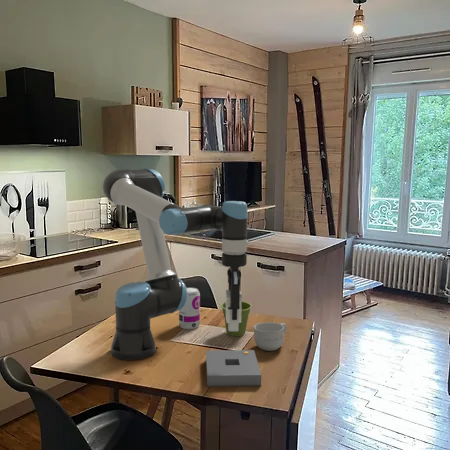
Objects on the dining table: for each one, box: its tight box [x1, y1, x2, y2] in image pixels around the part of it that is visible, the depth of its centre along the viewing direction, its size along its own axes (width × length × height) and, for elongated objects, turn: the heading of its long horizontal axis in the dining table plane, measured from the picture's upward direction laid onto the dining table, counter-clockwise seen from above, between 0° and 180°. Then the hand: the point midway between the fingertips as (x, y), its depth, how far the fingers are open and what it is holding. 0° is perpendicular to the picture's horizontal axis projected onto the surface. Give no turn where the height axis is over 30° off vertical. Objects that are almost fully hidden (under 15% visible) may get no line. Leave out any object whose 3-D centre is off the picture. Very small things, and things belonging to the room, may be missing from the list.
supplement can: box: [178, 287, 201, 330], centre depth 185 cm, size 8×8×15 cm
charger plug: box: [225, 289, 243, 331], centre depth 143 cm, size 4×4×12 cm
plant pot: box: [220, 300, 253, 337], centre depth 178 cm, size 12×12×11 cm
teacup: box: [253, 321, 288, 352], centre depth 166 cm, size 14×11×8 cm
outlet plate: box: [205, 349, 262, 388], centre depth 146 cm, size 16×18×4 cm
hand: (233, 326), depth 144 cm, fingers closed on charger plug, 4 cm apart
